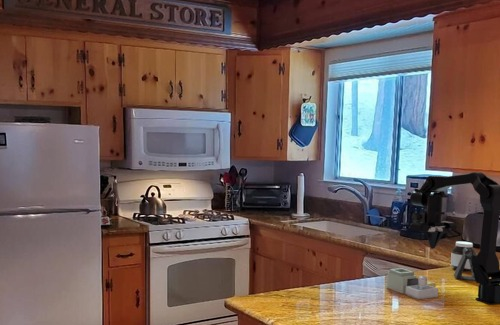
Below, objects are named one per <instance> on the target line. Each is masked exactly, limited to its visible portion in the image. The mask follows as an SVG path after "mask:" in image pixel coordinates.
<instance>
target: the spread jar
mask: <svg viewBox="0 0 500 325" xmlns="http://www.w3.org/2000/svg"><path fill="white" fill-rule="evenodd" d="M473 247H474V244H473V242H469V241H463V240H462V241H455V246H454V247H453V248H452V250H451V253H450V254H451V256H450V263H451V267H453V269H455V270H456V269H457V266H458V264H459V262H460V260H461V258H462V255H463V249H464V248H466V249H467V250H468V251H467V252H466V255H467V254H469V253H470V250H471V251H472V252H473V255H477V252H476V250H475V249H474V248H473ZM468 248H469V249H470V250H469V249H468ZM463 272H471V267H470V263H469V259H467V261H466V264H465V267H464V270H463Z"/></svg>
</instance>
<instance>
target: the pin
mask: <svg viewBox="0 0 500 325" xmlns="http://www.w3.org/2000/svg"><path fill="white" fill-rule="evenodd" d="M417 278H418V288H417V290H424V289H427V281H428V276H424V275H418V277H417Z"/></svg>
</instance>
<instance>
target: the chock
mask: <svg viewBox="0 0 500 325" xmlns="http://www.w3.org/2000/svg"><path fill="white" fill-rule="evenodd" d="M436 284H437V283H436V282H434V281H432V280H431V281H430V280H427V285H429V286H432V287H435V288H437V286H436Z"/></svg>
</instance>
